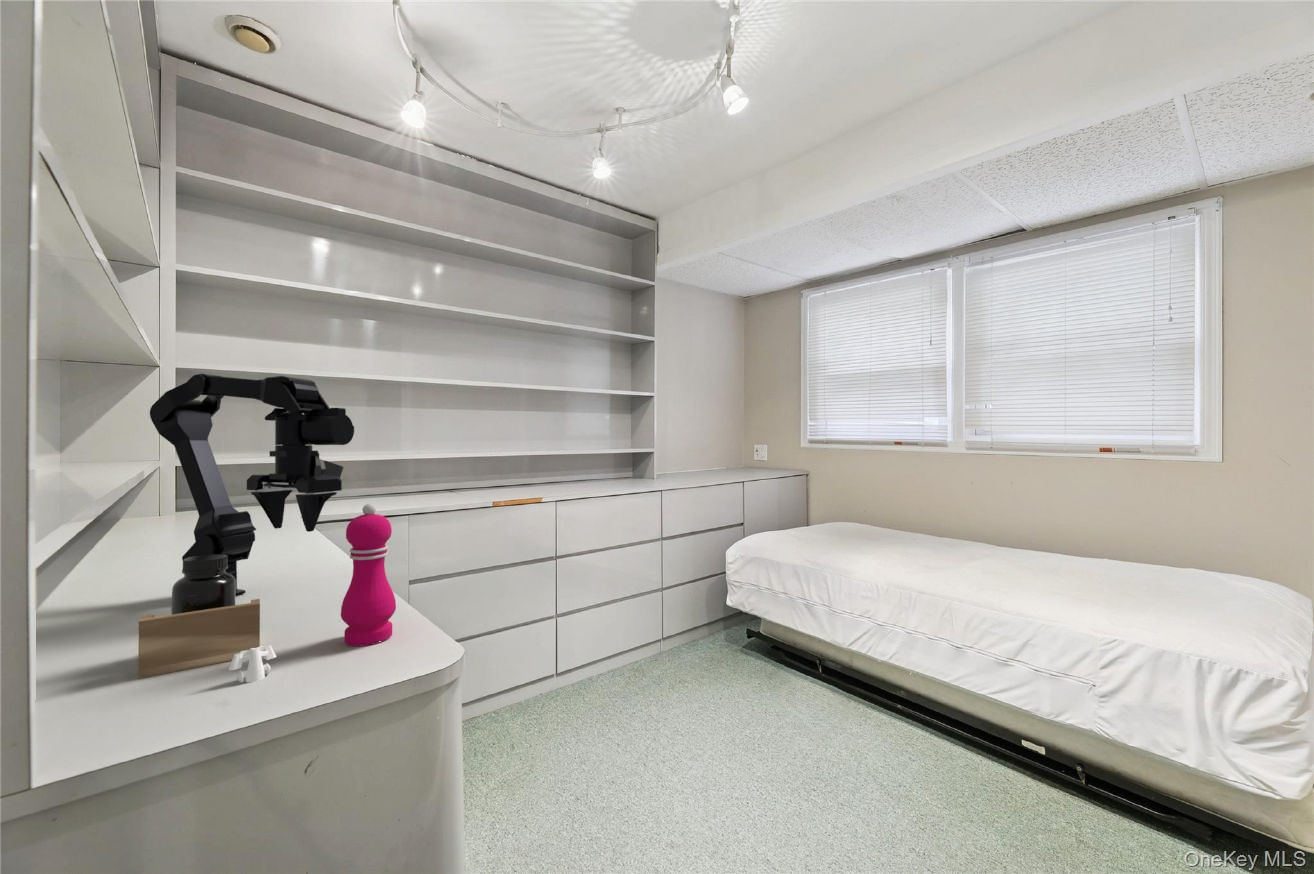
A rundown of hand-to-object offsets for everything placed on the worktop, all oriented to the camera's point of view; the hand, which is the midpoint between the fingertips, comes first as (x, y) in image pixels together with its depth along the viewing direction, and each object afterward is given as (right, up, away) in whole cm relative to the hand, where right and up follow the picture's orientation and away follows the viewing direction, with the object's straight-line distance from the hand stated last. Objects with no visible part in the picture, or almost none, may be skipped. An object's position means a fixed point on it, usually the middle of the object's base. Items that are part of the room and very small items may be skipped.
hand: (293, 529), depth 98 cm
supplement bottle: (+4, -12, -24) cm, 27 cm away
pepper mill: (+24, -13, -19) cm, 34 cm away
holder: (+4, -13, -24) cm, 28 cm away
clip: (+17, -13, -33) cm, 39 cm away
